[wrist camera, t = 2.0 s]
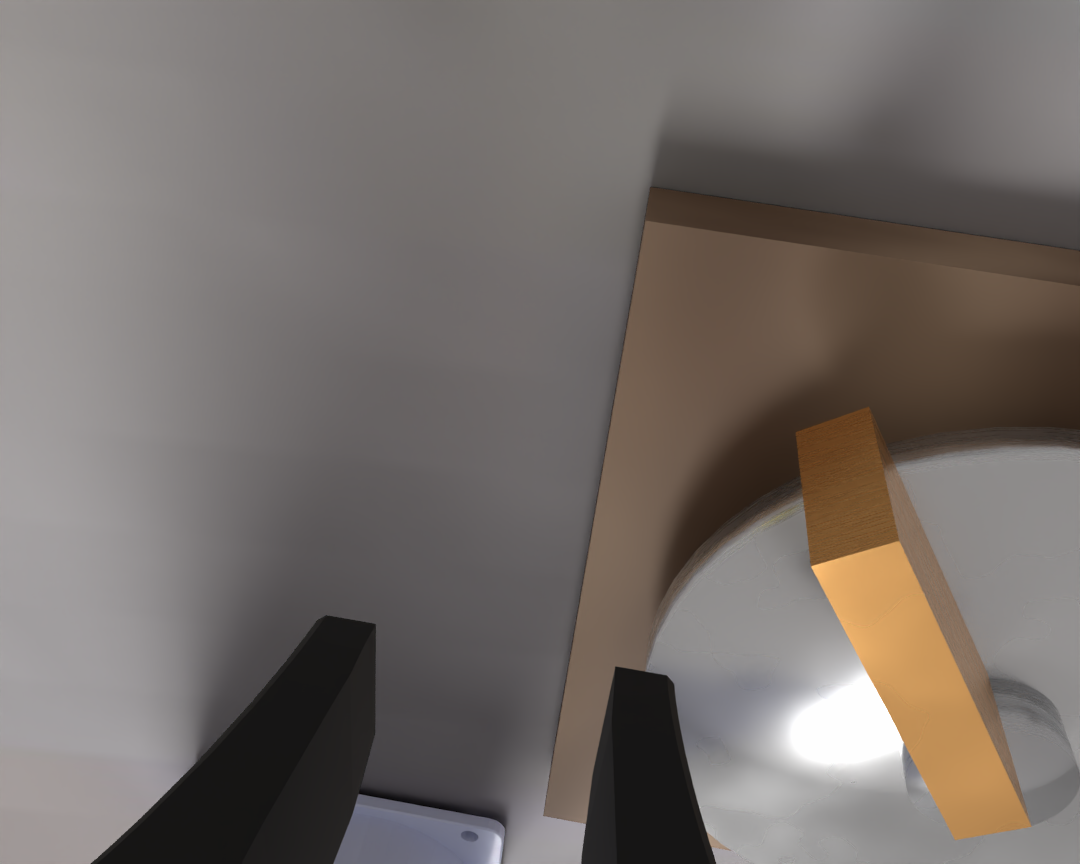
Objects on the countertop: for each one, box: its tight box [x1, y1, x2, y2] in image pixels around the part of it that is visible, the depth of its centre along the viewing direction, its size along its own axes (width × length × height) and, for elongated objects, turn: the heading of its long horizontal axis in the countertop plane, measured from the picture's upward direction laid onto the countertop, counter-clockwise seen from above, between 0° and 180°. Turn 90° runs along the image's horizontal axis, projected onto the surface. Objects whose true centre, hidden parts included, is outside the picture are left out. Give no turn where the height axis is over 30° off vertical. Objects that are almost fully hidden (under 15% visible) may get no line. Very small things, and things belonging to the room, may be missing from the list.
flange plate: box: [645, 407, 1080, 864], centre depth 19 cm, size 13×13×4 cm
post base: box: [543, 187, 1080, 851], centre depth 20 cm, size 16×17×6 cm
